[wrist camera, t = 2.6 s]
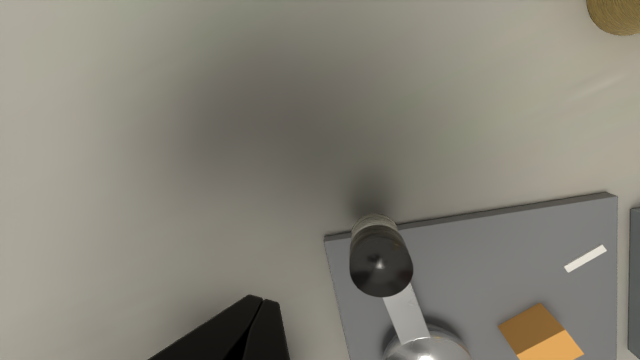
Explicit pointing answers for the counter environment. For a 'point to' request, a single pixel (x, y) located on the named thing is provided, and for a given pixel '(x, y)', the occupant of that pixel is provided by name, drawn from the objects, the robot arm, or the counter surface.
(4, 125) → the counter surface
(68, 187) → the counter surface
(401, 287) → the crank
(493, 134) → the counter surface
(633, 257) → the tray
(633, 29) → the pin
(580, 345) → the crank base
